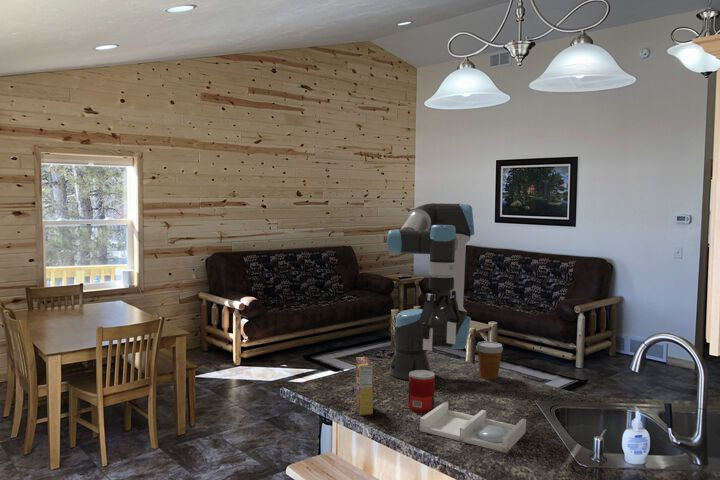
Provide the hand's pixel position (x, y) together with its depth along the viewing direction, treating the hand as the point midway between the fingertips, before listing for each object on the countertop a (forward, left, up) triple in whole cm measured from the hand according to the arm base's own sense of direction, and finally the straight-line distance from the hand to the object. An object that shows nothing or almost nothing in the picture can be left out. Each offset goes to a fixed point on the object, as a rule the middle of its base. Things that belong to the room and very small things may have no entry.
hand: (439, 346), depth 183 cm
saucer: (+10, +21, -19) cm, 30 cm away
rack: (+10, +15, -20) cm, 27 cm away
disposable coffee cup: (-42, 0, -20) cm, 47 cm away
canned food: (0, -6, -21) cm, 21 cm away
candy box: (+11, -20, -20) cm, 30 cm away
